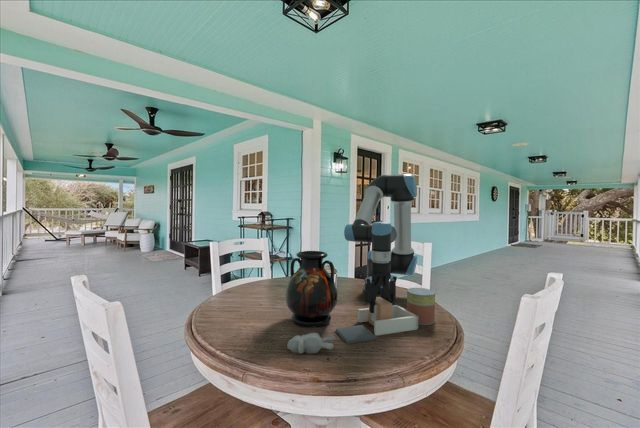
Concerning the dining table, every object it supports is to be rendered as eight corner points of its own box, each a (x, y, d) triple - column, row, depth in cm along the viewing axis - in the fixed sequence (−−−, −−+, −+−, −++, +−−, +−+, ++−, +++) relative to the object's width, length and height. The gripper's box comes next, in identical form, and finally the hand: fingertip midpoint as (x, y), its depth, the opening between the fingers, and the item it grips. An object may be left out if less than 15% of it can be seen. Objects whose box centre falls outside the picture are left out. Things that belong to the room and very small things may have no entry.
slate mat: (361, 327, 118) (361, 325, 118) (375, 339, 108) (376, 336, 108) (335, 331, 114) (335, 328, 114) (347, 343, 104) (347, 340, 104)
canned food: (440, 321, 126) (441, 292, 125) (422, 327, 119) (423, 296, 119) (418, 313, 135) (418, 286, 135) (400, 318, 129) (401, 290, 129)
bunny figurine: (290, 331, 105) (334, 328, 103) (292, 345, 105) (335, 343, 103) (284, 343, 95) (332, 340, 93) (286, 359, 95) (333, 357, 94)
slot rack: (396, 316, 131) (397, 304, 130) (418, 329, 117) (418, 316, 117) (358, 321, 124) (358, 309, 124) (375, 335, 111) (375, 322, 111)
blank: (379, 320, 125) (380, 296, 125) (391, 329, 116) (392, 303, 116) (368, 322, 123) (369, 297, 123) (380, 330, 115) (380, 304, 114)
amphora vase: (275, 326, 118) (276, 254, 118) (298, 308, 139) (298, 248, 138) (327, 334, 111) (328, 258, 110) (343, 315, 131) (344, 250, 131)
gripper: (365, 264, 112) (364, 326, 113) (406, 261, 118) (405, 320, 119) (356, 260, 120) (355, 319, 120) (395, 258, 126) (394, 314, 126)
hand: (380, 319), depth 120 cm, fingers closed on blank, 5 cm apart
